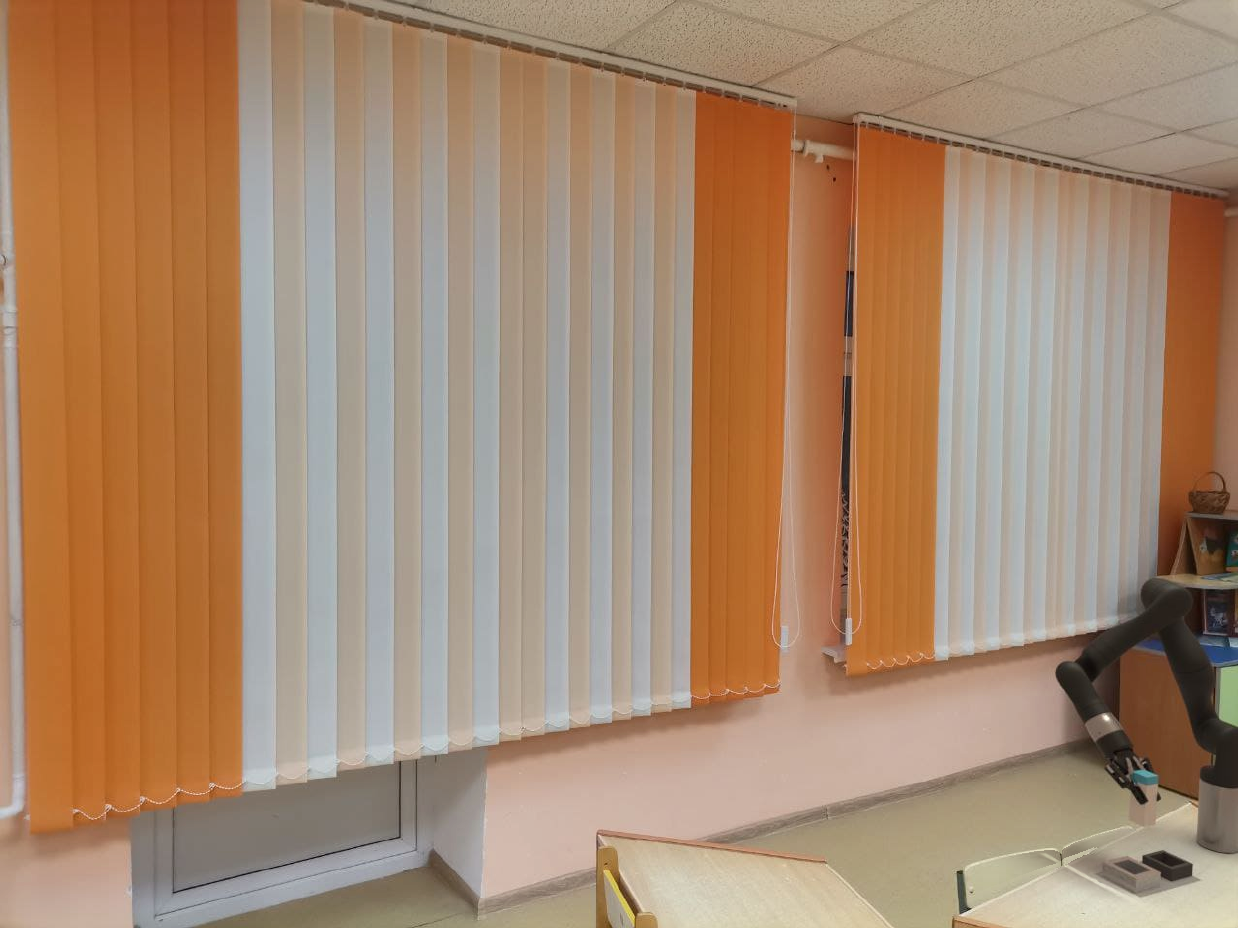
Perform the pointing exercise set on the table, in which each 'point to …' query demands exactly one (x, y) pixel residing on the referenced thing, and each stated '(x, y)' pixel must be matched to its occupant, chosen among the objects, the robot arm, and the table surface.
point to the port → (1131, 874)
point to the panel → (1164, 884)
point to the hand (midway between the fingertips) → (1151, 801)
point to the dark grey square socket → (1168, 865)
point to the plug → (1149, 786)
